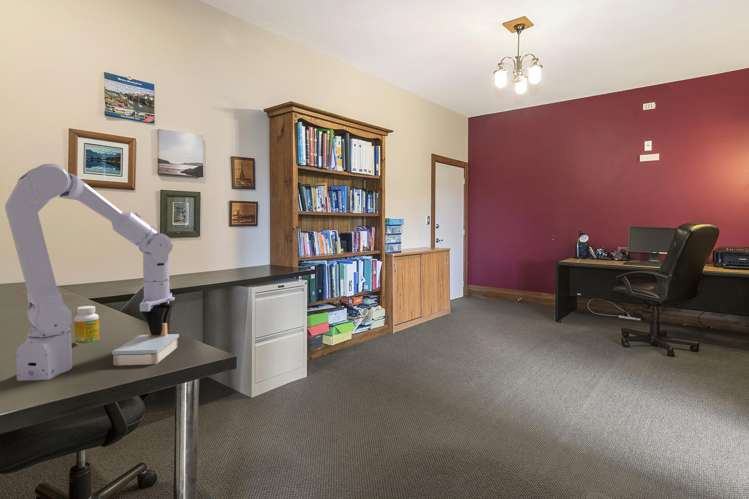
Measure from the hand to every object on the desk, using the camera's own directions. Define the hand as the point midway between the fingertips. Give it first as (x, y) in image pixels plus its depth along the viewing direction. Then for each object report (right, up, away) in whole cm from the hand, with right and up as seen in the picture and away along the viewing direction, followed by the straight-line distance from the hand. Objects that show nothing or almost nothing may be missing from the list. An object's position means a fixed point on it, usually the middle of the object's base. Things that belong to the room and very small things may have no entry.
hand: (157, 333), depth 103 cm
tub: (+1, -5, -6) cm, 7 cm away
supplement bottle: (-23, -4, +7) cm, 24 cm away
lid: (+1, -2, -6) cm, 6 cm away
